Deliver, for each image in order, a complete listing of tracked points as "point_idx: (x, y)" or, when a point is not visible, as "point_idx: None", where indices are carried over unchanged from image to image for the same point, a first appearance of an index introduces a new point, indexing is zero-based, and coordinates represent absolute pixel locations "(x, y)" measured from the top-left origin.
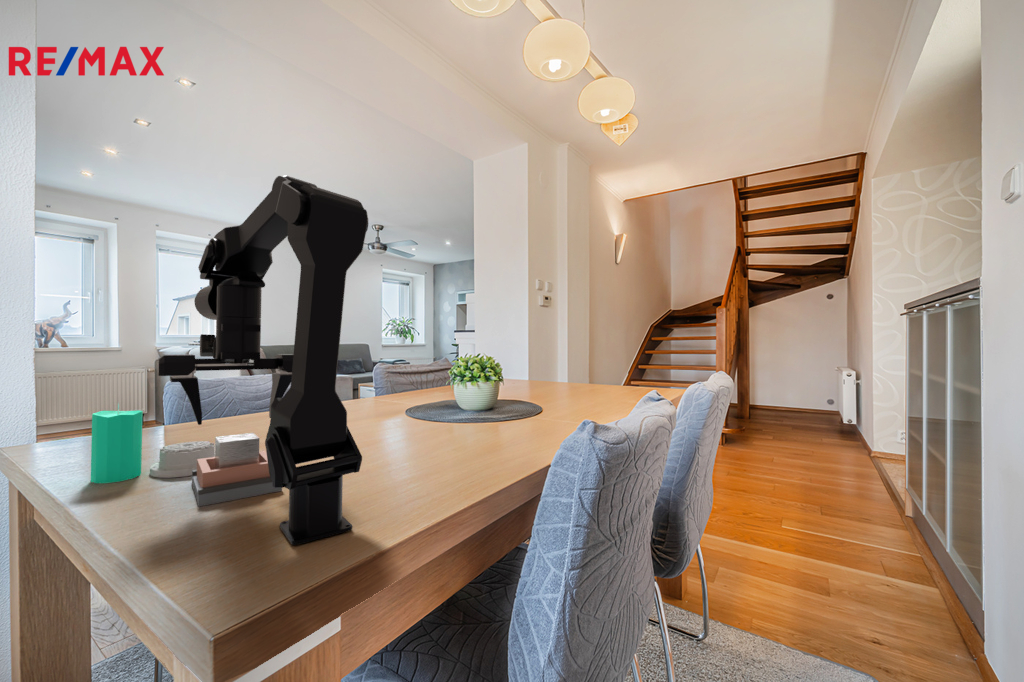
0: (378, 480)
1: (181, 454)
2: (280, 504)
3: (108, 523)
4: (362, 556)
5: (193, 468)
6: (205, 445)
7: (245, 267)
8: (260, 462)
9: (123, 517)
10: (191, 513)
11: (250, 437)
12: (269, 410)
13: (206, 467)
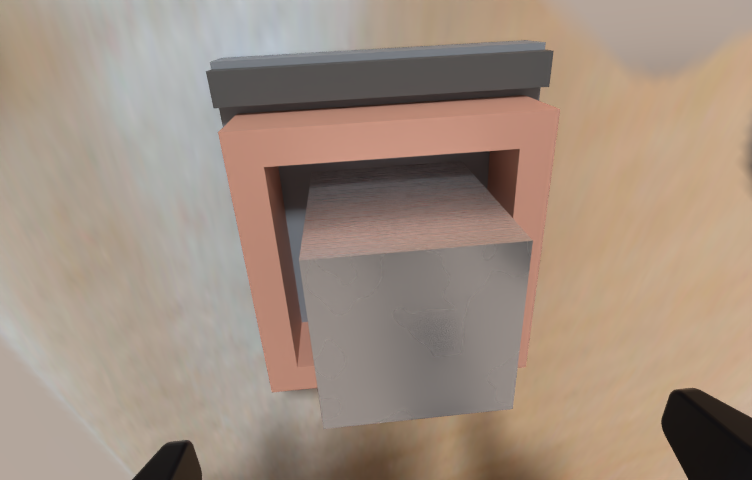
0: (745, 368)
1: None
2: (463, 421)
3: (71, 364)
4: None
5: None
6: None
7: None
8: (499, 194)
9: (92, 338)
10: (265, 387)
11: (479, 376)
12: (716, 442)
13: (279, 321)
